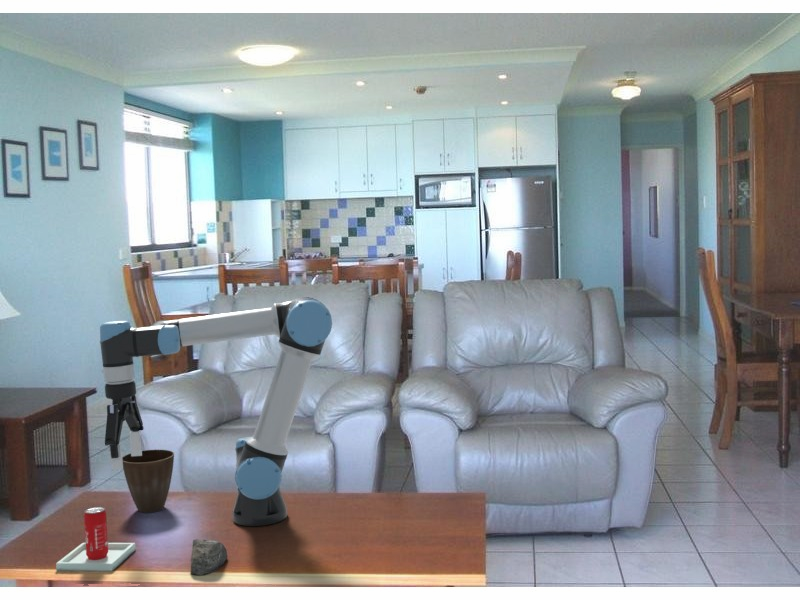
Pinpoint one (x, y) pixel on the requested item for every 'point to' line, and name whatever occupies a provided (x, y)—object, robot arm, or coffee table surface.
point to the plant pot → (149, 478)
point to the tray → (80, 561)
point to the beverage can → (96, 533)
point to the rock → (207, 556)
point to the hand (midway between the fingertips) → (127, 462)
